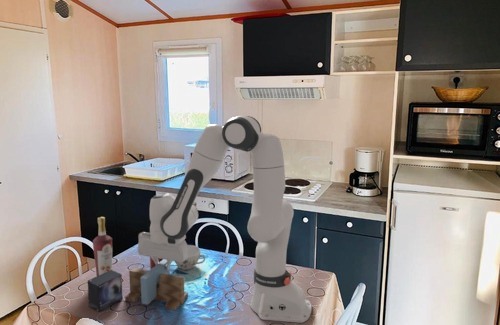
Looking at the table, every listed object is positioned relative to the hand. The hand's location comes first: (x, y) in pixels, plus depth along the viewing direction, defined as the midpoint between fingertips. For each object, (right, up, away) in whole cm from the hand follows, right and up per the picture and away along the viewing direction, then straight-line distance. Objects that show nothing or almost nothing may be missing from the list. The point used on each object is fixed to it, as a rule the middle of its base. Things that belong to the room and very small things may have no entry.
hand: (162, 268), depth 144 cm
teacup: (+7, -6, +22) cm, 24 cm away
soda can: (-7, -6, +20) cm, 22 cm away
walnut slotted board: (-2, -11, -3) cm, 11 cm away
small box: (-20, -11, -7) cm, 24 cm away
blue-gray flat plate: (-2, -8, -3) cm, 9 cm away
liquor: (-25, -8, +7) cm, 28 cm away
